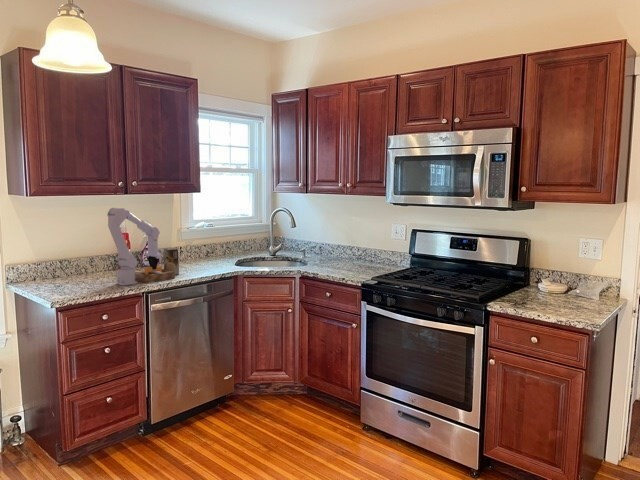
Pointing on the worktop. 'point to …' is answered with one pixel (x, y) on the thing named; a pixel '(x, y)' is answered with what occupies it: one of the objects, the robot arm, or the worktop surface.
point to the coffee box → (171, 260)
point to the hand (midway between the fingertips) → (153, 269)
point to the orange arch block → (152, 269)
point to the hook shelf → (154, 276)
